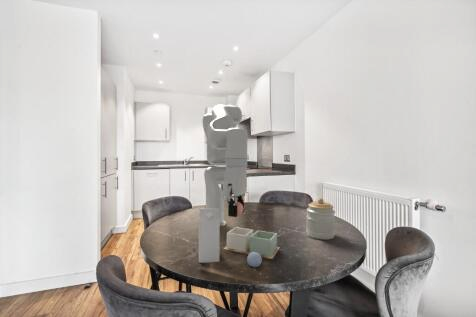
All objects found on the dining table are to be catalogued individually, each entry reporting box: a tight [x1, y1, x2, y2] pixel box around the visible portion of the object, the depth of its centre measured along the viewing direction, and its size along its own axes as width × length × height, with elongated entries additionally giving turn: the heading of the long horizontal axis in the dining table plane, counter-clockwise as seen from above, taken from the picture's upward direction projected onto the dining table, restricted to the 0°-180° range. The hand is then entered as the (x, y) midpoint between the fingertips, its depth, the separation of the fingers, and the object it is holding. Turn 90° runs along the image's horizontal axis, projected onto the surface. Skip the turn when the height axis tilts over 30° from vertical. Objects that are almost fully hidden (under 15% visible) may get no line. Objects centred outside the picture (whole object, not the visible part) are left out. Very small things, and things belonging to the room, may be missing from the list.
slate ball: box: [246, 252, 263, 268], centre depth 77 cm, size 5×5×5 cm
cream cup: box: [226, 226, 254, 252], centre depth 92 cm, size 8×8×6 cm
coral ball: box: [236, 202, 243, 217], centre depth 80 cm, size 5×5×5 cm
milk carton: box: [198, 207, 221, 266], centre depth 81 cm, size 7×7×19 cm
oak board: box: [222, 245, 281, 260], centre depth 90 cm, size 20×11×1 cm, turn 65°
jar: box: [305, 198, 336, 241], centre depth 108 cm, size 13×13×18 cm
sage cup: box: [250, 230, 278, 257], centre depth 88 cm, size 8×8×6 cm
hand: (236, 213), depth 80 cm, fingers closed on coral ball, 4 cm apart
